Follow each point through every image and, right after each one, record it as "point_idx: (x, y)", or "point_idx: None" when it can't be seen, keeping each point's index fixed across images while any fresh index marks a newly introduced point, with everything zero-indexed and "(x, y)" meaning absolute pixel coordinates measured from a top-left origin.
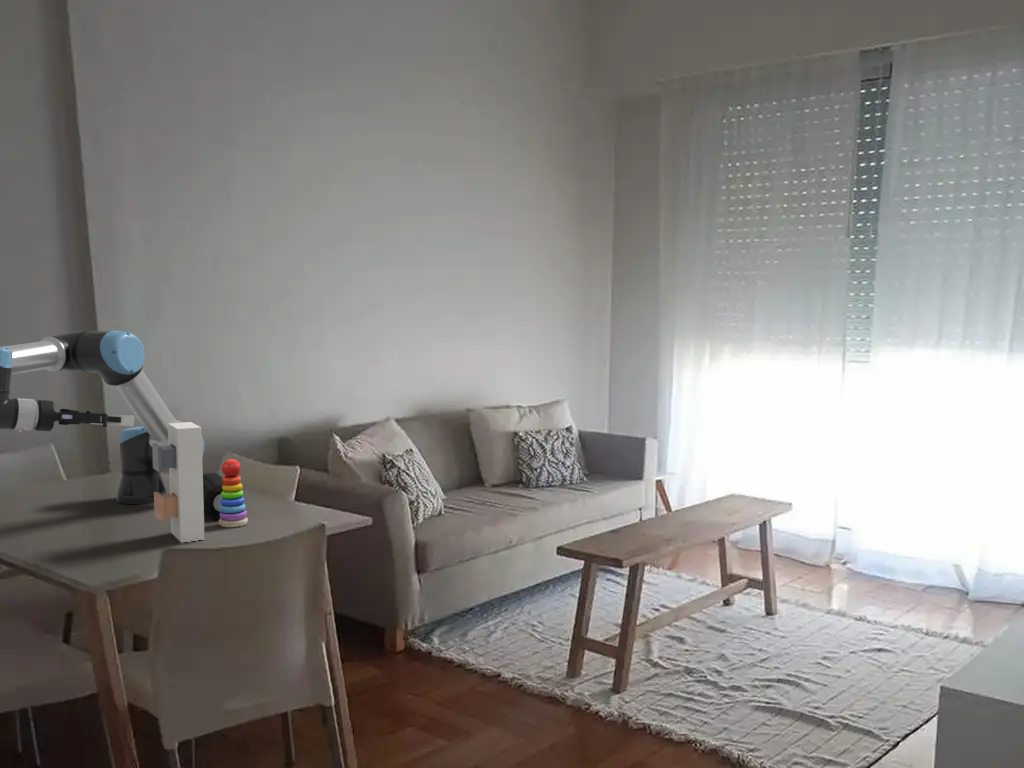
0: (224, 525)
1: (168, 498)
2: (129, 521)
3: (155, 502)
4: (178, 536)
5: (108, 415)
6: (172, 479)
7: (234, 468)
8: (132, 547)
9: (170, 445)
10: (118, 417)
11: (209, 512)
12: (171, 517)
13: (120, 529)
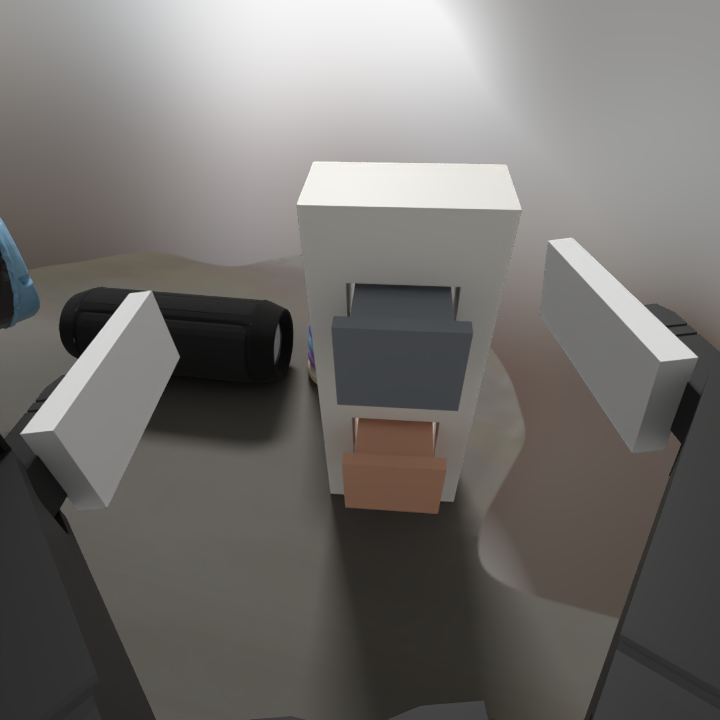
0: None
1: (430, 447)
2: (103, 552)
3: (368, 482)
4: None
5: (684, 364)
6: None
7: None
8: (430, 629)
9: (357, 291)
10: (677, 321)
11: (264, 381)
12: (339, 468)
13: (177, 602)
